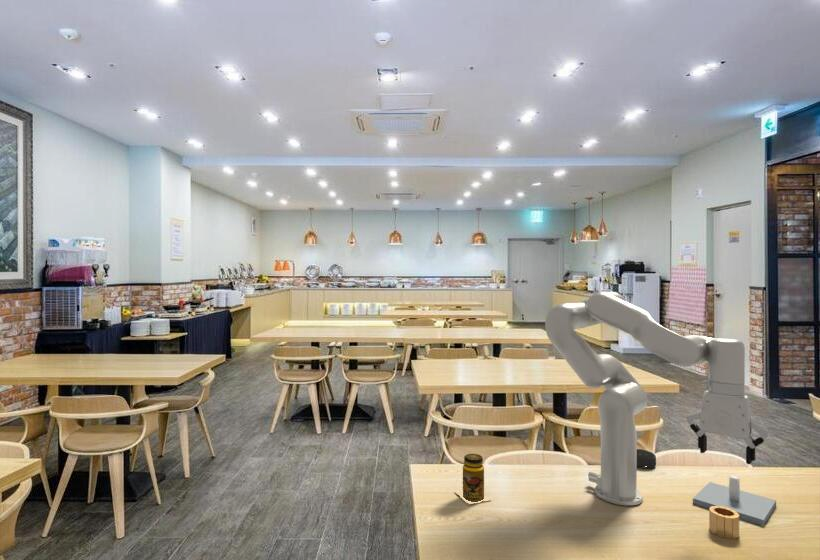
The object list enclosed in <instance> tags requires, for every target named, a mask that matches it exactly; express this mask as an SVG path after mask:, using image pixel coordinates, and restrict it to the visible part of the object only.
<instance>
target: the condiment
mask: <svg viewBox="0 0 820 560" xmlns="http://www.w3.org/2000/svg"><path fill="white" fill-rule="evenodd" d="M463 459H464V460H463V465H462V491H463V497H464V498H465V499H466V500H468V501H471V502H478V501H481V500H483V499H484V495H485V467H484V463H483V461H484V460H483V459H484V458H483V456H482V455H480V454H478V453H468V454H465V455H464V458H463Z"/></svg>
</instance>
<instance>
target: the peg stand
mask: <svg viewBox="0 0 820 560" xmlns="http://www.w3.org/2000/svg"><path fill="white" fill-rule="evenodd" d="M740 480H741V479H740V477H738V476H735V475H729V476H728V486H726V485H722V484H719V483H714V482H712V481H709V482H708V483H707V484H706V485H705V486H704V487H702V489H701V490H699V492H698V493H696V494H695V496H693V497H692V504H693V505H695V506H699V507H703V508H706V509H709V508H710V507H711V506H721V507H726V508H729V509H732V510H734V511H736V512H737V513H738V514H739V520H740V519H741V520H743V521H747V522H750V523H753V524H757V525H759V526H763V527H764V526H765V525H766V524H767V521H768V520H769V519H770V517H771V515H772V514H773V512H774V510H775V508H776V507H777V500H776V499H773V498H769V497H765V496H761V495H759V494H755V493H751V492H747V491H744V490H741V489H740V488H741V485H740Z"/></svg>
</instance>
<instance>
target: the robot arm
mask: <svg viewBox="0 0 820 560" xmlns="http://www.w3.org/2000/svg"><path fill="white" fill-rule="evenodd" d="M544 323H545V324H544V326H545V331H546V335H547V337H548V339H549V341H550V343H551V344H552V346H554V348H555V349H556V350H557V351H558V352H559V353H560V355H561V356H562V357H563V359H564V360H565V361H566V363H567V364H568V365H569V367H570V368H571V369H572V370H573V372H574V373H575V374H576V375H577V377H578V379H580V380H581V381H582V383H583V384H584V385H585V386H586V387H587V388H590V389H598V388H602V387H603V389H604V390H603V391H602V393H601V394H600V395H599V397H598V401H597V410H598V416H599V426H600V474H599V473H596V472H593V471H589V472H588V475H587V477H588V481H589V482H592V483H595V484H596V486H595V488H594V494H595V495H596V496H597V498H600V499H601V500H603V501H605V502H608V503H611V504H614V505H619V506H628V507H629V506H637V505H640V504H641V503H643V500H644V497H643V493H641V491H640V490H638V489H637V487H638V486H637V481H638V480H637V478H638V477H637V475H638V474H637V472H638V471H637V468H638V467H637V449H638V447H637V445H638V444H637V441H638V440H637V438H638V437H637V429H636V424H635V416H636V415H638V414H640V413H641V412H643V411H644V410H645V409H646V407H647V404H648V395H647V393H646V392H645V390H644V388H643V386H642V385H641V384H640V383H639V382H638V380H636V378H635V377H634V376H633V375H632V374H631V372H630V371H629V370H628V369H627V368H626V367H625V365H624V364H623V363H622V362H621V361H620V360H619V359H618V358H616V357H615V356H613V355H611V354H607V353H599V354H598V353H596V351H595V350H594V349H593V348H592V347H591V346H590V345H589V343H588V342H587V341H586V340H585V338H583V337H582V336H580V335H579V334H578V333H577V332H576V331H575V330H579V329H584V328H585V329H586V328H588V327H593V326H596V325H599V324H605V326H606V325H607V326H609V327H610V328H613V329H615V330H617V331H619V332H620V333H623V335H626V336H627V337H630V338H632V339H633V340H634V341H635V342H636V343H638V344H639V345H640V346H642V347H643V348H644V349H646V350H647V351H649V352H650V353H652V354H653V355H656V356H657V357H659V358H662V359H663V360H666V361H667V362H669V363H671V364H674V365H676V366H679V367H683V368H690V367H693V366H696V365H700V364H707V379H706V380H701V383H700V385H701V386H702V387H705V388H706V389H707V390H704V392H703V394H702V395H703V396H702V399H701V407H700V412H698V413H693V414H690V415H687V416H686V417H685V418H686V420H687V423H688V425H689V427H690V428H691V430H692V431H693V432H694V433H695V434H696V437H697V448H698V449H699V452H700V454H705V453H706V452H707V450H708V449H707V448H708V447H707V446H708V436H707V435H706V433H709V434H714V435H720V436H721V437H722V436H723V437H728V438H733V439H738V440H743V441H744V442H745V444H746V445H747V446H746V447H745V463H746V464H747V465H751V464H752V463H753V462H755V461H756V448H757V447H758V446H760V445H761V444H763V443H764V442H765V441H766V439H767V438H768V436H770V434H771V433H770V431H769V430H768V429H766V428H765V427H763V426H761V425H760V424H758V423H756V422H755V421H753V420H752V413H751V407H750V401H749V397H748V395H746V394H745V386H746V385H745V382H746V381H745V379H746V378H745V377H746V375H745V366H746V365H745V361H746V360H745V359H746V358H745V356H746V355H745V353H746V352H745V349H746V348H745V344H744V342H743V341H742V340H739V339H734V338H727V337H725V338H724V337H723V338H722V337H721V338H720V337H718V338H717V337H715V338H714V337H708V336H703V335H697V334H689V335H688V334H687V335H681V334H679V333H677V332H675V331H673V330H670V329H668V328H666V327H664V326H663V325H661V324H659V323H658V322H656V320H654V318H653V317H652V315H651V314H650V312H649V311H647V310H645V309H644V308H641V307H638V306H637V305H634V304H632V303H630V302H628V301H626V299H625V297H624V296H623V295H622V294H620V293H619V292H616V291H598V292H595V293H593V294H592V295H591V296H590V297H588V299H585V300H582V301H579V302H564V303H559V304H556V305H553V306H552V307H551V308H550V309H549V310H548V312H547V314H546V317H545V322H544ZM698 419H699V421H700V423H699V424H700V425H698V424H697V423H696V420H698ZM752 430H754V431H756V432H758V433H759V436H758V437H757V438H754V437H753V436H752V432H753V431H752Z"/></svg>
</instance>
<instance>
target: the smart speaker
mask: <svg viewBox="0 0 820 560" xmlns="http://www.w3.org/2000/svg"><path fill="white" fill-rule="evenodd" d="M656 465H657V456H656V455H655V454H654V453H653V452H652V451H649V450H647V449H642V448H641V449H639V448H637V468H639V467H645V466H647V467H645V468H644V469H653V468H655V467H656Z"/></svg>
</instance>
